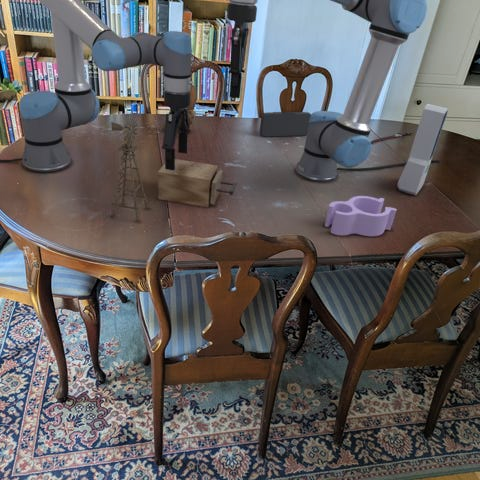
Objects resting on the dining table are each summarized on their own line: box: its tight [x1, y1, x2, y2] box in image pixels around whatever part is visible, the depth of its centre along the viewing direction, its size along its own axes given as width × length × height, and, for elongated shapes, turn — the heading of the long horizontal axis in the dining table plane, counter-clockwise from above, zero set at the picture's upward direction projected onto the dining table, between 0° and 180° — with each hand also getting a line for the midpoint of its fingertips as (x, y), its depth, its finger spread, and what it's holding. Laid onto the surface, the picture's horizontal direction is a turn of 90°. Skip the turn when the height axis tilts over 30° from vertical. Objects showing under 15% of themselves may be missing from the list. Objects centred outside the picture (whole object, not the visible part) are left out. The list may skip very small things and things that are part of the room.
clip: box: [324, 195, 398, 237], centre depth 141 cm, size 20×12×7 cm, turn 109°
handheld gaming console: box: [258, 111, 312, 137], centre depth 202 cm, size 23×3×10 cm, turn 108°
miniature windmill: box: [110, 111, 149, 222], centre depth 129 cm, size 9×8×30 cm
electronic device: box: [396, 103, 449, 196], centre depth 162 cm, size 12×8×30 cm, turn 148°
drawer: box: [209, 169, 238, 205], centre depth 147 cm, size 20×10×8 cm, turn 80°
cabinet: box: [157, 158, 219, 208], centre depth 147 cm, size 16×11×9 cm
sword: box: [370, 132, 414, 145], centre depth 214 cm, size 31×3×1 cm, turn 126°
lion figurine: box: [161, 109, 197, 132], centre depth 194 cm, size 15×5×9 cm, turn 110°
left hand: (176, 160), depth 144 cm, fingers open, 13 cm apart
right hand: (234, 96), depth 131 cm, fingers closed
